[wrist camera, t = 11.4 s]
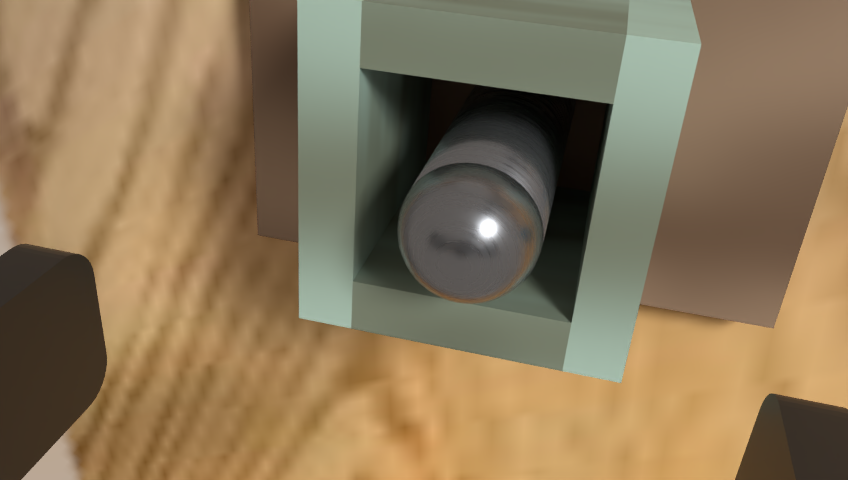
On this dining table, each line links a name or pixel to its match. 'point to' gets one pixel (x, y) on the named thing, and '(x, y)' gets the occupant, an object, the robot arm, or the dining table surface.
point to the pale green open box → (406, 157)
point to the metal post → (486, 195)
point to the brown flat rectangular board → (694, 160)
